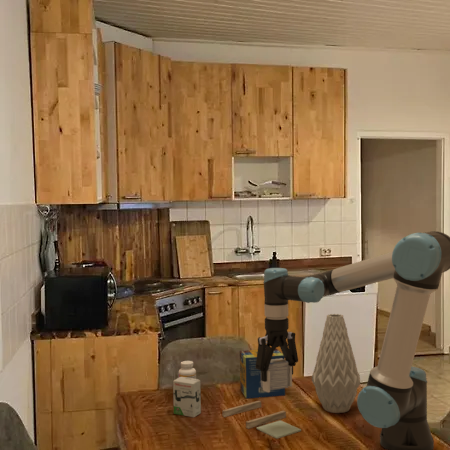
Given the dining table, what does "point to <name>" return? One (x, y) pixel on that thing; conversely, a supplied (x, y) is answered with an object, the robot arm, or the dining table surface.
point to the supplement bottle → (187, 370)
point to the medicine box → (278, 374)
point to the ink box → (187, 396)
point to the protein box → (255, 375)
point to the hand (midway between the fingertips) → (277, 388)
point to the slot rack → (258, 420)
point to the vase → (335, 367)
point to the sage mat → (278, 429)
